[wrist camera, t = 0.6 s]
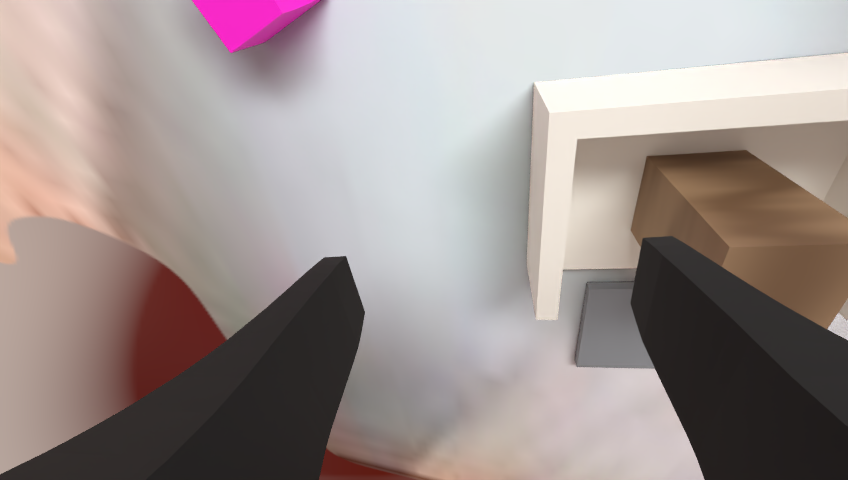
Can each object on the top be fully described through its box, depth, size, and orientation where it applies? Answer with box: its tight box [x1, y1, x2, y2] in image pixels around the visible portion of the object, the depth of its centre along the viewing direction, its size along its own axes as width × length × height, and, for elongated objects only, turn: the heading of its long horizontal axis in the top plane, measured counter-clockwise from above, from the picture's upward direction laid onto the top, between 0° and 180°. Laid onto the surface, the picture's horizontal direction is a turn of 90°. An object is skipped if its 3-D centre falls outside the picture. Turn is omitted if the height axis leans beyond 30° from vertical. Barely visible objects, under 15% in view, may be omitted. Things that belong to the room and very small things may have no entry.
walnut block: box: [631, 150, 848, 329], centre depth 15 cm, size 4×4×7 cm
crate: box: [527, 53, 848, 320], centre depth 17 cm, size 14×10×4 cm
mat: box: [575, 282, 655, 368], centre depth 24 cm, size 9×7×1 cm
